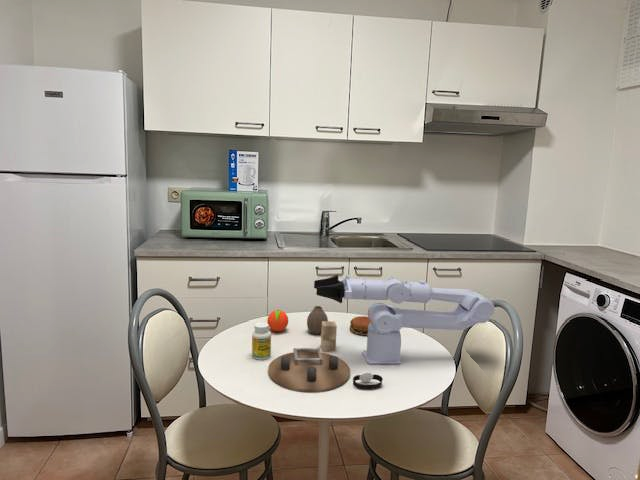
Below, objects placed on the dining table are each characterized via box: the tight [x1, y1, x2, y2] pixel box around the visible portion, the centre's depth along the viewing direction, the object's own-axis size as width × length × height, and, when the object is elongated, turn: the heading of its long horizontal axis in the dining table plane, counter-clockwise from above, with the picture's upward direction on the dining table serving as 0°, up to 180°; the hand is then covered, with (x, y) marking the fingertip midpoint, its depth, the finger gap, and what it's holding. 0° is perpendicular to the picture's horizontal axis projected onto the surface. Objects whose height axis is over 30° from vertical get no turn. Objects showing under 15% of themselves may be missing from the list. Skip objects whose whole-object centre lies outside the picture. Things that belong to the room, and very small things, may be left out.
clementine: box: [266, 309, 289, 332], centre depth 153 cm, size 8×7×7 cm
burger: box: [349, 315, 371, 336], centre depth 156 cm, size 10×9×5 cm
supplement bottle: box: [251, 321, 272, 361], centre depth 133 cm, size 5×5×10 cm
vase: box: [306, 305, 329, 336], centre depth 153 cm, size 7×7×9 cm
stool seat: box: [267, 347, 351, 393], centre depth 126 cm, size 22×22×4 cm
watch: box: [352, 371, 384, 391], centre depth 119 cm, size 8×5×4 cm, turn 99°
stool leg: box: [320, 320, 338, 353], centre depth 141 cm, size 4×4×8 cm
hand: (315, 287), depth 130 cm, fingers open, 7 cm apart
